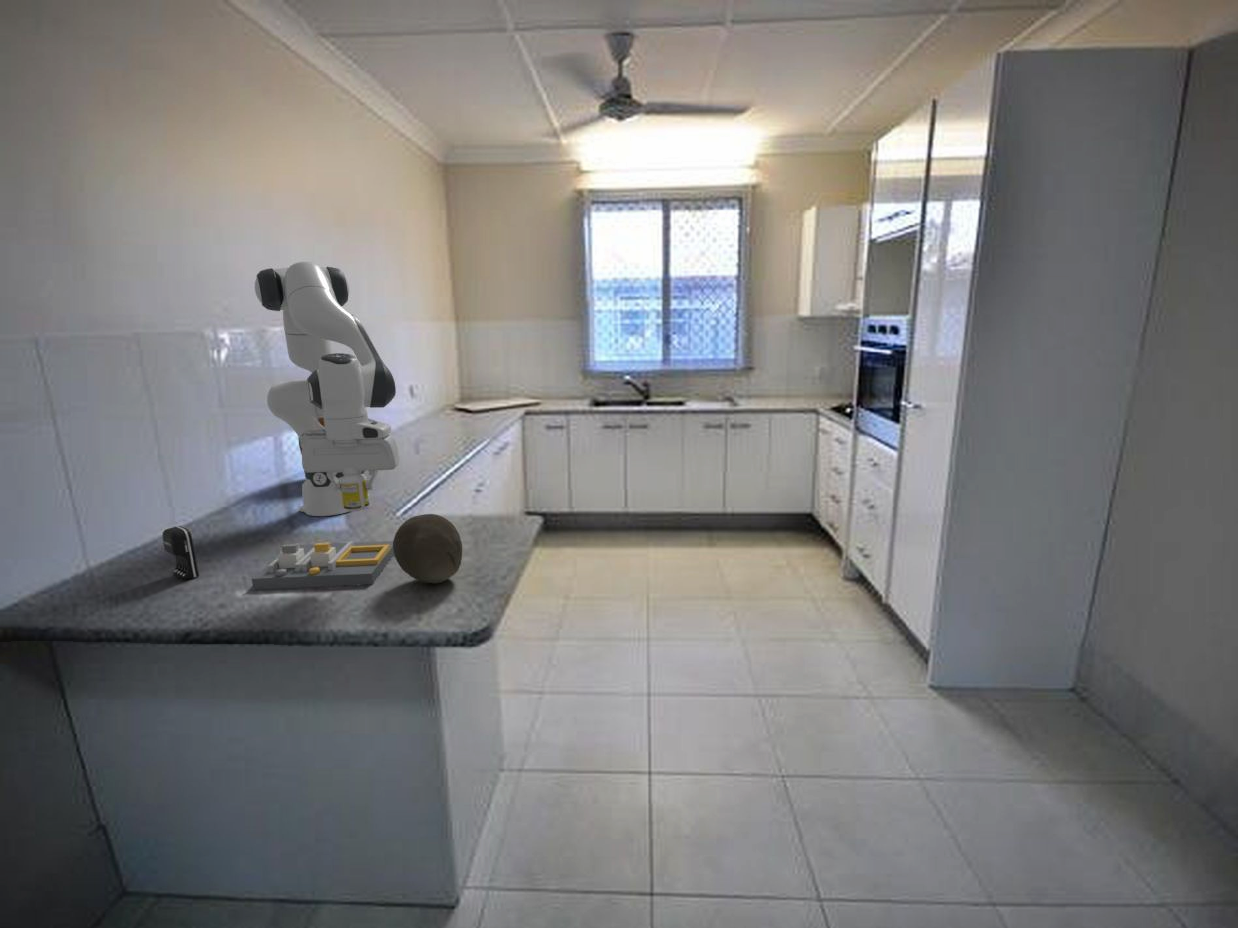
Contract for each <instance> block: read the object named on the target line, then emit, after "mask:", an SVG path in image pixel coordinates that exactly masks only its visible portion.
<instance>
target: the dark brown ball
mask: <svg viewBox="0 0 1238 928" xmlns="http://www.w3.org/2000/svg"><path fill="white" fill-rule="evenodd" d="M461 538H462V537H461V536H460V533H459V531H458V530H457V528H456V526H455V525H454V524H453V523H452V522H451V521H450V520H448V519H447V518H445V517H444V516H441V515H438V514H435V513H425V514H420V515H414V516H412V517H410V518H408V519H406V520H405V521H404V522H403V523H402V524H401V525H400V526H399V527H398V529H397V531H396V533H395V536H394V538H393V540H392V541H393V551H394V557H395V560H396V562H397V564H398V565H399V567H400V568H401V570H402V571H403V572H405V573H406V574H407V575H409V576H410V577H412V578H413V579H415V580H417V581H419V582H422V583H427V584H440V583H444V582H445V581H447V580H449V579H450V578H451V577H453V576H454V575H455V574H456V573H457V572H458V571H459V569H460V568H461V565H462V564H461V563H462V559H463V544H462V543H463V541H462V539H461Z"/></svg>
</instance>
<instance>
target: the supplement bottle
mask: <svg viewBox="0 0 1238 928" xmlns="http://www.w3.org/2000/svg"><path fill="white" fill-rule="evenodd" d="M361 472H362V471H355V470H354V469H353V468H347V469H344V471H342V473H343V474H344V476H343V477H342V478H341V479H340V484H341V491H342V499H343V506H344V510H345V511H349V512H353V513H355V512H360V511H365V510H366V509H369V507H370V499H369V498H370V497H369V498H368V493H369V492H368V490H366V488H365V487H366V486H365V482H366V481H367V477H366V475H364V473H363V474H361ZM349 512H348V513H349Z"/></svg>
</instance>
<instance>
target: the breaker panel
mask: <svg viewBox="0 0 1238 928" xmlns="http://www.w3.org/2000/svg"><path fill="white" fill-rule="evenodd" d="M393 541H394V540H388V541H387V540H385V541H382V540H381V541H363V542H362V541H361V542H359V541H358V542H354V541H353V540H350V541H348V542H339V543H338V542H336V543H335V542H334V543H333V542H332V543H330V542H329V541H327V542H324V543H330V547H335V548H336V555H335V556H334V557H333V558H332V559H331V560H330V561H329V562H328V563H327V564H328V566H324V567H312V565H311V558H310V554H311V553H312V552H313V551H314V550H315V549H314V545H315V544H316V543H311V544H309V543H308V544H300V543H297V544H298V549H300V548H304V554H305V556H304V557H303V558H301V559H300V560H299V561H298V562H297V563H296V564H295V568H279V564H278V557H276V558H275V559H274V560H273V561H271V563H269V564H268V565H267V566H265V567H264V568H263V569H262V570H261V571H259V572H258V573H257V574H255V576H253V577H252V578H251V582H252V583H251V584H252V588H253V590H254V591H255V590H275V589H278V590H279V589H296V588H297V589H298V588H319V587H322V588H323V587H324V588H325V587H339V586H340V587H342V586H344V585H346V586H361V585H360V584H368V585H374V583H375V582H376V581H377V579H378V578H379V577H380V576H381V574H382V573H383V571H384V570H385V569H386V568H387V566H388V565H389V563H390V562H391V561H392V559H393V558H394V557H395V555H394V551H393ZM393 556H394V557H393ZM392 557H393V558H392ZM391 558H392V559H391ZM390 560H391V561H390ZM389 561H390V562H389ZM388 562H389V563H388ZM387 564H388V565H387ZM386 565H387V566H386ZM384 568H385V569H384ZM383 569H384V570H383ZM381 572H382V573H381ZM380 573H381V574H380ZM378 576H379V577H378ZM376 578H377V579H376ZM375 580H376V581H375ZM358 584H359V585H358ZM344 587H345V586H344Z"/></svg>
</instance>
